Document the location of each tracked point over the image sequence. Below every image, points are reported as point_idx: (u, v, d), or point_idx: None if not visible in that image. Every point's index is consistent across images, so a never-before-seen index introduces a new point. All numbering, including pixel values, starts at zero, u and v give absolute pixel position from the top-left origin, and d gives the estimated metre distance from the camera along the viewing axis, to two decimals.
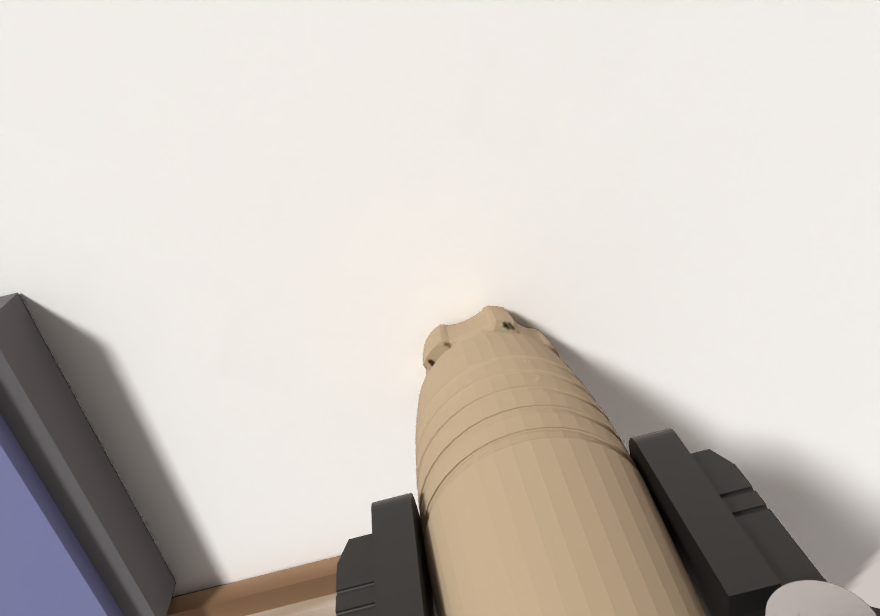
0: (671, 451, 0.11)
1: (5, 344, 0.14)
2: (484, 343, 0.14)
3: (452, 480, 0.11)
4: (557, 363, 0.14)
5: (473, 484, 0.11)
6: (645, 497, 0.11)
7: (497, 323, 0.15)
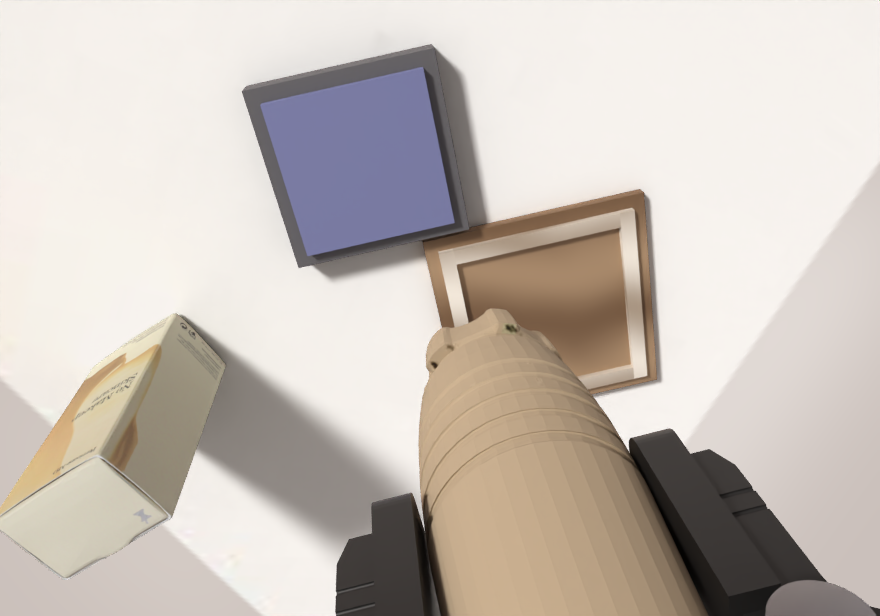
0: (671, 451, 0.11)
1: None
2: (487, 346, 0.14)
3: (457, 482, 0.11)
4: (560, 366, 0.14)
5: (476, 487, 0.11)
6: (648, 500, 0.11)
7: (500, 326, 0.15)
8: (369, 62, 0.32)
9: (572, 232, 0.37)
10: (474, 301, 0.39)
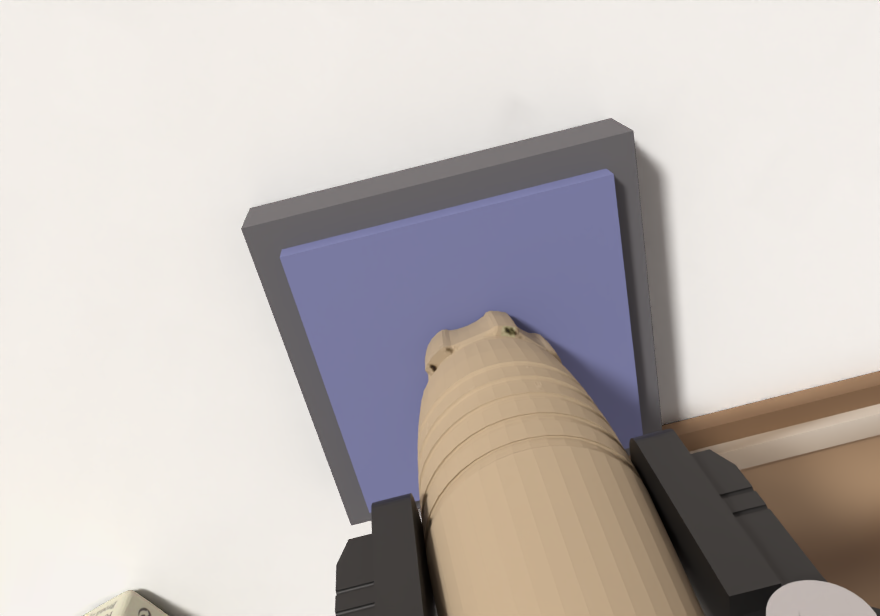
0: (671, 451, 0.11)
1: None
2: (486, 349, 0.14)
3: (455, 487, 0.11)
4: (559, 369, 0.14)
5: (475, 493, 0.11)
6: (648, 506, 0.11)
7: (499, 328, 0.15)
8: (500, 163, 0.16)
9: (836, 436, 0.21)
10: None
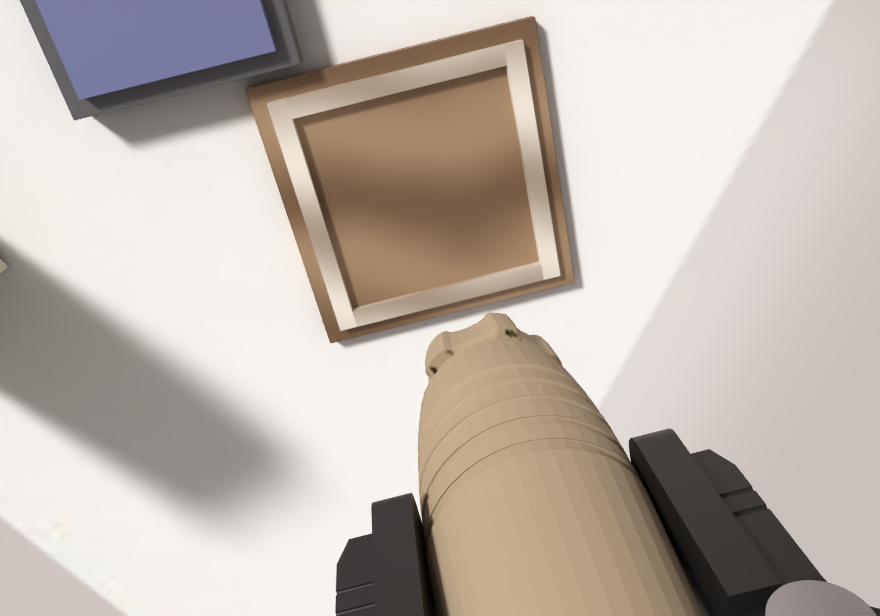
0: (671, 451, 0.11)
1: None
2: (486, 351, 0.14)
3: (456, 490, 0.11)
4: (560, 372, 0.14)
5: (475, 496, 0.11)
6: (648, 509, 0.11)
7: (499, 331, 0.15)
8: None
9: (442, 72, 0.28)
10: (324, 174, 0.30)
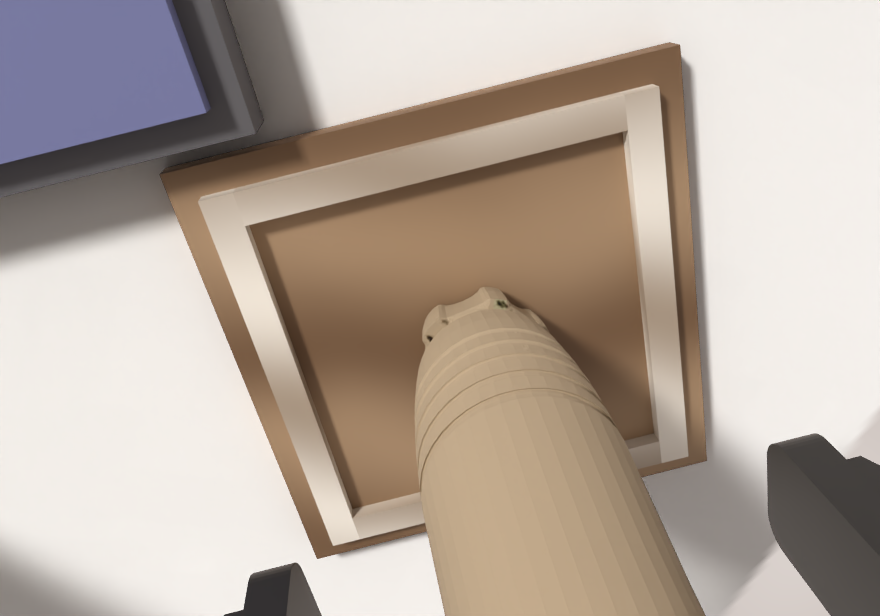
0: (826, 458, 0.11)
1: None
2: (479, 318, 0.15)
3: (448, 436, 0.12)
4: (546, 336, 0.15)
5: (466, 438, 0.12)
6: (622, 450, 0.12)
7: (491, 301, 0.16)
8: None
9: (513, 143, 0.16)
10: (305, 311, 0.17)
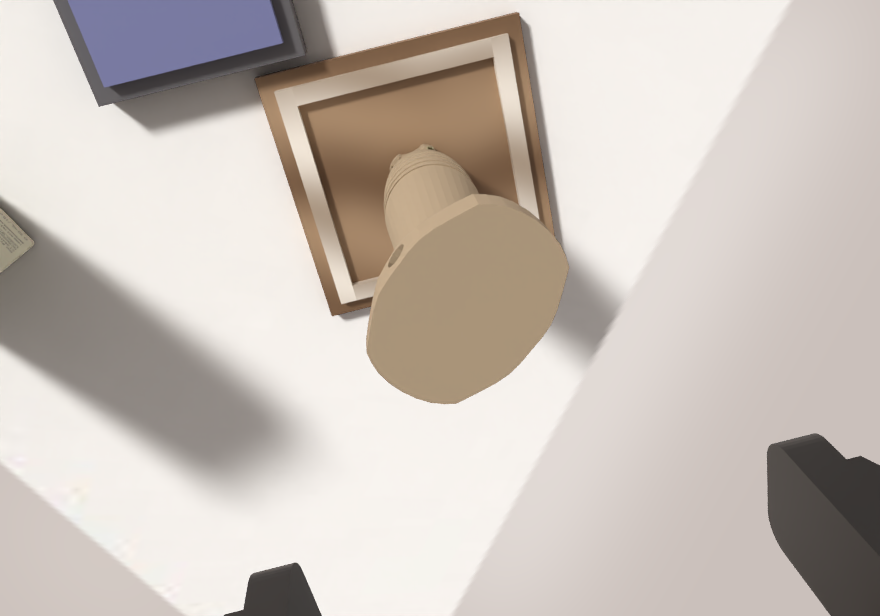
0: (826, 458, 0.11)
1: None
2: (416, 151, 0.31)
3: (396, 186, 0.28)
4: (449, 157, 0.30)
5: (403, 181, 0.27)
6: (471, 186, 0.27)
7: (425, 147, 0.32)
8: None
9: (434, 63, 0.31)
10: (327, 157, 0.33)
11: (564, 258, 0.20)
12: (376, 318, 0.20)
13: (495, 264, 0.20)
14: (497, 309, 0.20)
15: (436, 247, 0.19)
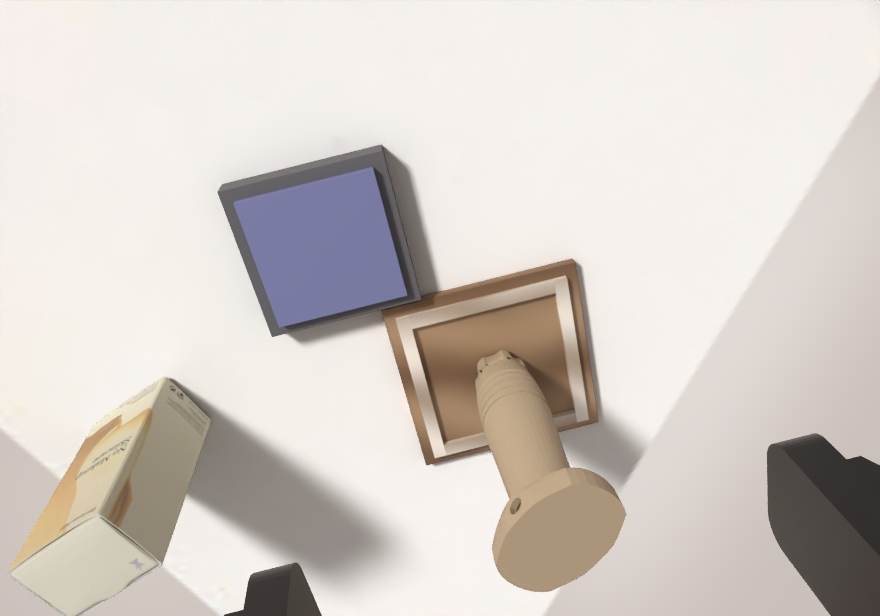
0: (825, 458, 0.11)
1: None
2: (500, 365, 0.42)
3: (492, 406, 0.39)
4: (525, 372, 0.42)
5: (499, 407, 0.38)
6: (547, 410, 0.38)
7: (504, 357, 0.43)
8: (326, 164, 0.37)
9: (512, 298, 0.42)
10: (430, 359, 0.44)
11: (623, 509, 0.31)
12: (503, 546, 0.31)
13: (580, 514, 0.31)
14: (579, 538, 0.32)
15: (544, 507, 0.31)
